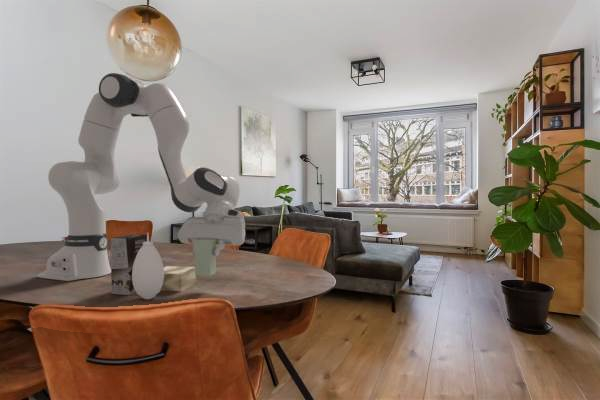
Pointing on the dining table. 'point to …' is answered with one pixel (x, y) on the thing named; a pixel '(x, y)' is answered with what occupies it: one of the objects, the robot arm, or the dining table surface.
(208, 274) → the sage post
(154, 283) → the white air blower bulb
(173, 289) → the base block
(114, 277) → the coffee box
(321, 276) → the dining table surface
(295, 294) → the dining table surface
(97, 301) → the dining table surface
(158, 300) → the dining table surface
